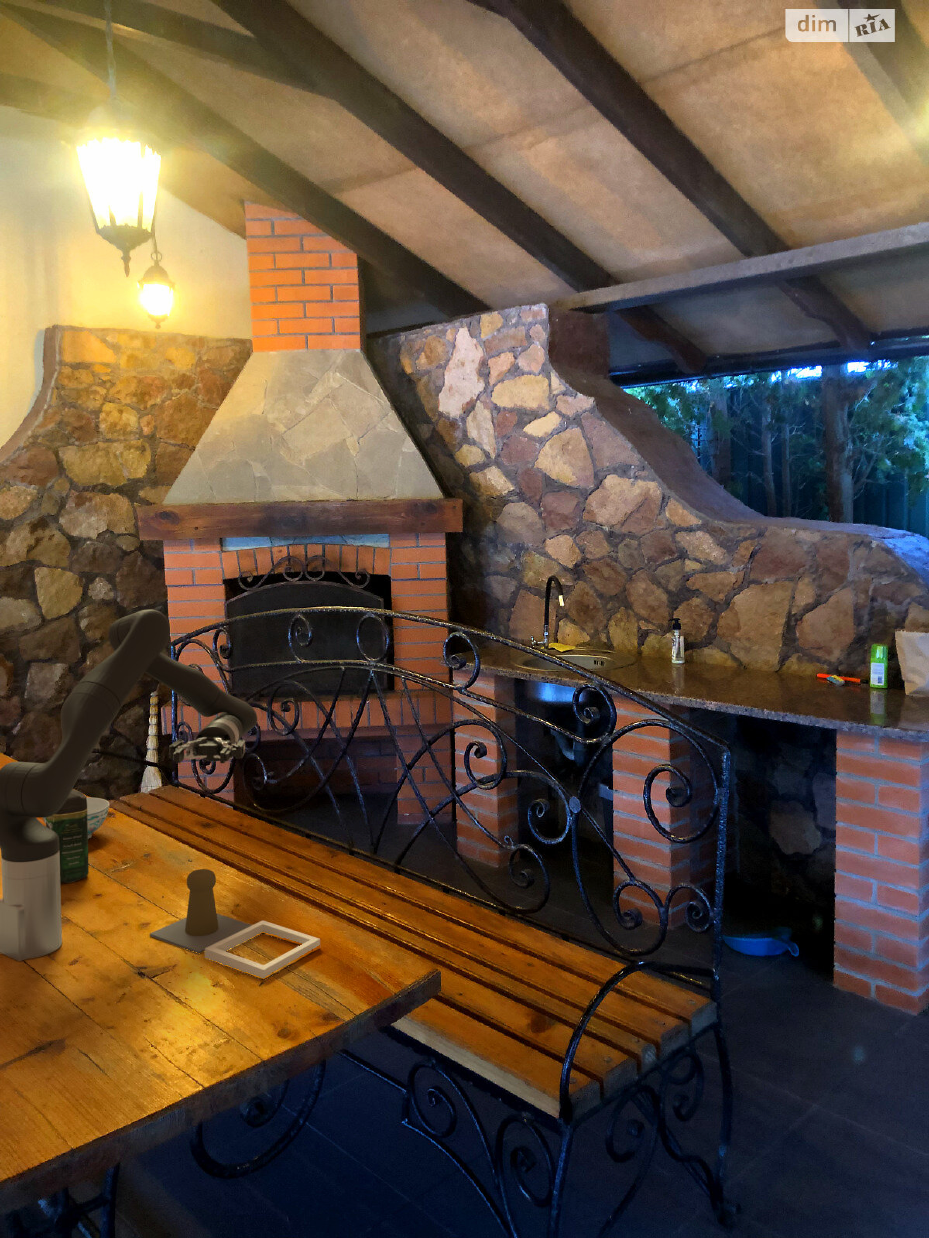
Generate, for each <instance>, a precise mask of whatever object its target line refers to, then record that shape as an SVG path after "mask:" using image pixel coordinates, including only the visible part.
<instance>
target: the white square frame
mask: <svg viewBox="0 0 929 1238" xmlns="http://www.w3.org/2000/svg"><path fill="white" fill-rule="evenodd" d="M251 925H252V926H250V927H248V928H246V929H244V930H242V931H240V932H238V933H236V934H234V935H231V936H229V937H227V938H225V939H223V940H221V941H219V942H217V943H215V944H213V945H211V946H209V947H207V948H205V952H204V959H205V958H208V959H210V960H213V961H217V962H219V963H222V964H223V965H222V966H224V965H228V966H230V967H232V968H236V969H239V970H241V971H243V972H248V973H250V974H253V975H256V976H259V977H261V978H265V977H266V976H268V975H270V974H271V973H272V972H274V971H276V970H278V969H279V968H281V967H283V966H284V965H287V964H288V963H289V962H291V961H293V960H295V959H297V958H299V957H300V956H301V955H304V954H305V953H307V952H308V951H311V950H312V949H314V948H316V947H317V946H319V945H320V946H321V938H319V937H315V936H313V935H309V934H306V933H303V932H300V931H296V930H294V929H291V928H287V927H284V926H282V925H278V924H275V923H272V922H268V921H266V920H260V921H259V922H257V923H255V924H251ZM261 932H265V933H268V934H273V935H277V936H279V937H281V938H286V939H289V940H292V941H296V942H299V943H302V945H300V946H299V945H297V946H296V947H295V948H293V949H291V950H289V951H286V952H285V953H283V954H281V955H279V956H278V957H276V958H274V959H273V960H270V961H269V962H267V963H266V964H261V963H259V962H256V961H253V960H250V959H248V958H245V957H243V956H242V957H241V956H239V955H236V954H234V953H230V952H228V951H227V950H229V949H230V948H233V949H234V947H235V946H236V945H238V944H241V943H243V942H244V941H247V940H248V939H250V938H252V937H254V936H256V935H257V934H260V933H261ZM247 942H248V941H247ZM243 944H244V943H243ZM241 945H242V944H241ZM235 948H236V947H235ZM226 951H227V952H226ZM229 951H230V950H229ZM208 959H207V960H208ZM210 960H209V961H210ZM213 961H212V962H213ZM232 968H231V969H232ZM243 972H242V973H243Z"/></svg>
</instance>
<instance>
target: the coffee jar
mask: <svg viewBox="0 0 929 1238" xmlns="http://www.w3.org/2000/svg"><path fill="white" fill-rule="evenodd" d="M86 797H87V796H86V795H85V794H84V793H83V792H81V791H79V790H76V789H74V788H73V789H72V791H71V793H70V794H69V796H68V798H67V800H66V801H65V803H64V804H63V806H62V807H61V808H60V809H59V811H58V812H57V813H55V814H54V815H52V816H50V817H46V824H45V826H46V827H47V828H49V829H51V830H52V831H54V832H55V833H56V834H57V835H58V837H59V854H60V883H67V884H68V883H75V882H77V881H79V880H82V879H86V878H87V877H88V876H89V873H90V872H89V870H90V869H89V867H90V866H89V865H90V863H89V839H88V822H87V798H86Z"/></svg>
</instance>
